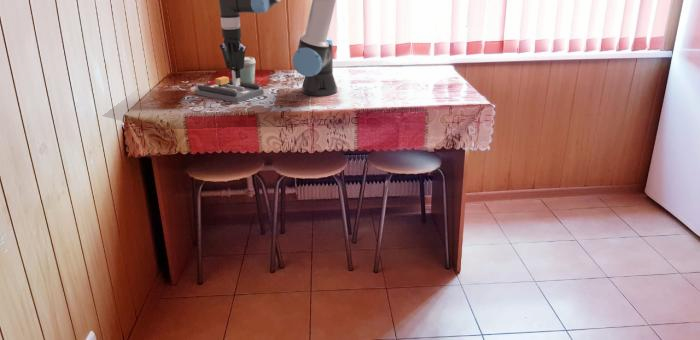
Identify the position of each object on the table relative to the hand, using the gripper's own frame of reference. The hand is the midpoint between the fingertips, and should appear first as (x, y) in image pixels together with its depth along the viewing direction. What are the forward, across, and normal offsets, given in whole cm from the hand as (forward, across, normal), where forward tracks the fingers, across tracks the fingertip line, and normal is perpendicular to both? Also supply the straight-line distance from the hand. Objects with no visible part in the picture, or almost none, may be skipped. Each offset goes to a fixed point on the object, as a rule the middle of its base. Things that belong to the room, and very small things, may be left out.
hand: (236, 85), depth 216 cm
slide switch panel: (+4, +4, 0) cm, 6 cm away
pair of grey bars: (+2, +5, 0) cm, 5 cm away
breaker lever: (+2, +8, 0) cm, 8 cm away
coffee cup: (+4, +9, -17) cm, 20 cm away
